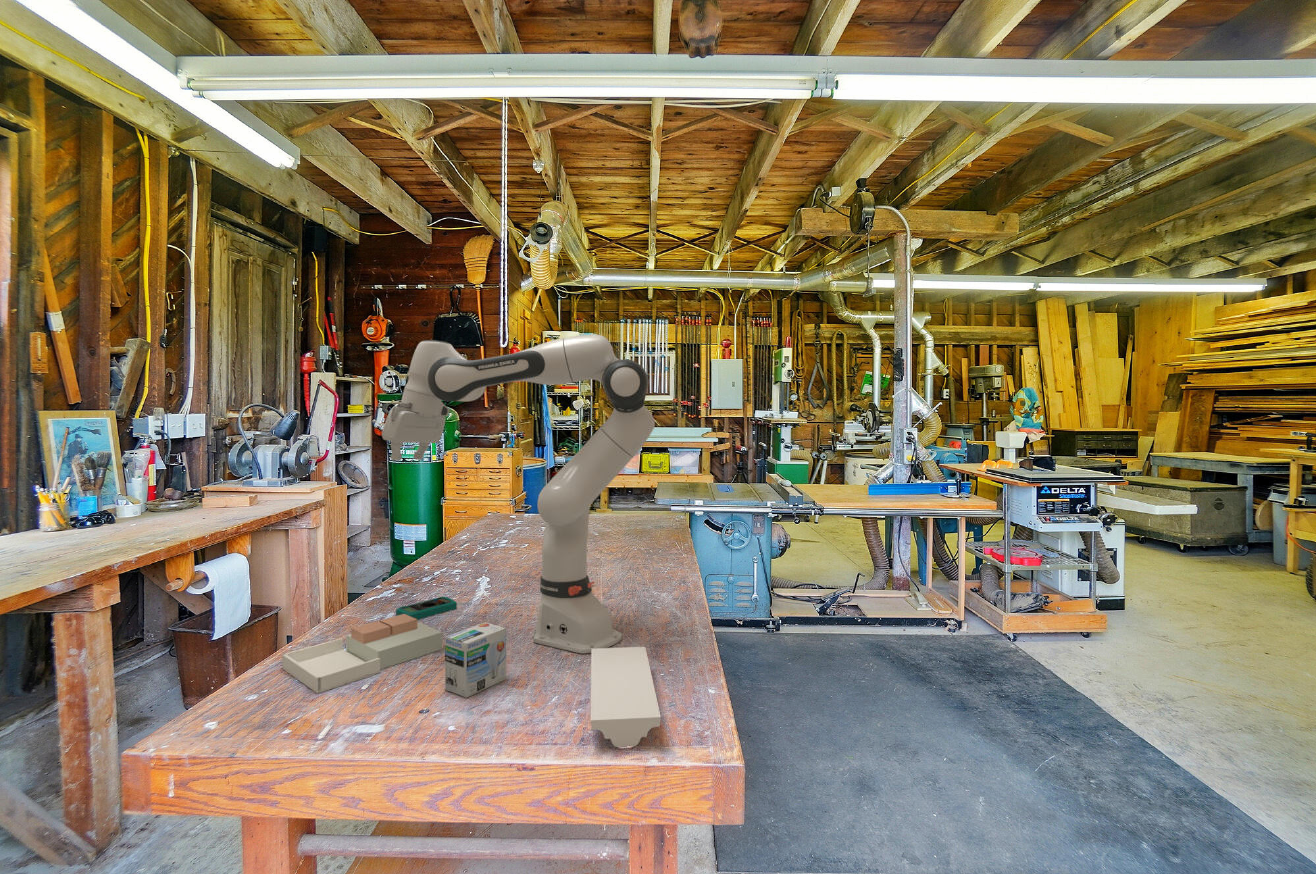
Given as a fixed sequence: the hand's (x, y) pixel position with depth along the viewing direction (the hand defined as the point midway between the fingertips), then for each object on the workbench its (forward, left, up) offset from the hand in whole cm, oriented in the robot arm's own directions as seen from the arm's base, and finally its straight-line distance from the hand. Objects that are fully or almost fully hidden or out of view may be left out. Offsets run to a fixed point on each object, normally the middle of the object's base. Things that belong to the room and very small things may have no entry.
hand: (406, 459), depth 146 cm
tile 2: (-5, +5, -39) cm, 40 cm away
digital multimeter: (+12, -12, -44) cm, 47 cm away
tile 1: (-5, +12, -39) cm, 41 cm away
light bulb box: (-36, +5, -44) cm, 57 cm away
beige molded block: (-64, -8, -44) cm, 78 cm away
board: (-7, +7, -43) cm, 44 cm away
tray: (-7, +21, -43) cm, 49 cm away
